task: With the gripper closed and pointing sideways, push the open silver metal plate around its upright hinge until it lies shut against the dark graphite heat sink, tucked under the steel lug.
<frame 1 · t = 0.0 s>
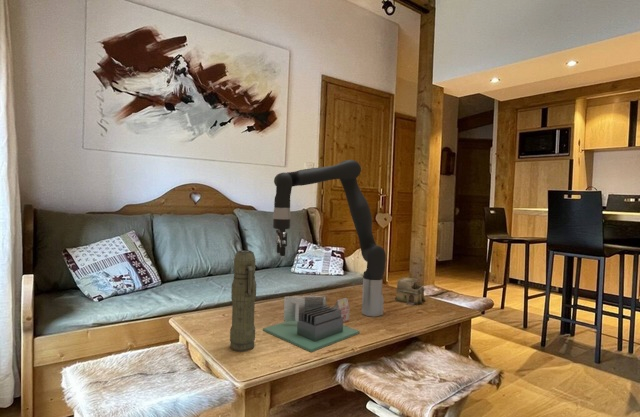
hand: (280, 254, 166), 29 cm above the table, tool pointing down, fingers open, 8 cm apart
graphics card: (304, 304, 193), on the table
miniature house: (409, 301, 204), on the table
thermos: (242, 347, 136), on the table
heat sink: (320, 335, 150), on the table
tea bag: (340, 321, 168), on the table
silver metal plate: (305, 308, 158), point 8 cm above the table, hinge at -35.0°
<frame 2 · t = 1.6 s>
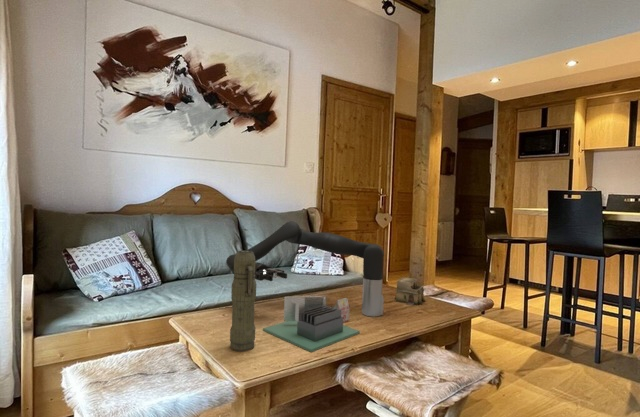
hand: (279, 277, 160), 20 cm above the table, tool horizontal, fingers open, 7 cm apart
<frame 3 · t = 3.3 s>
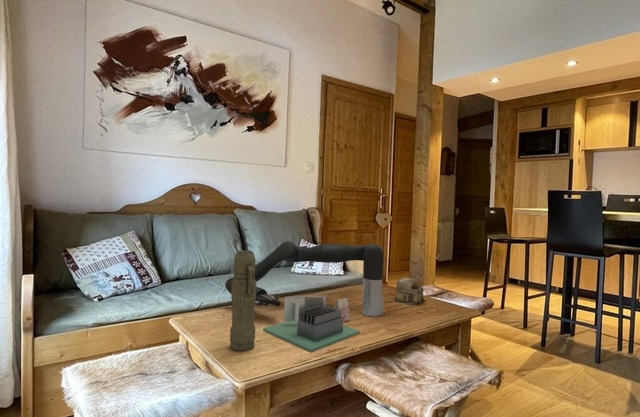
hand: (279, 304, 160), 9 cm above the table, tool horizontal, fingers closed
nothing on the table moved.
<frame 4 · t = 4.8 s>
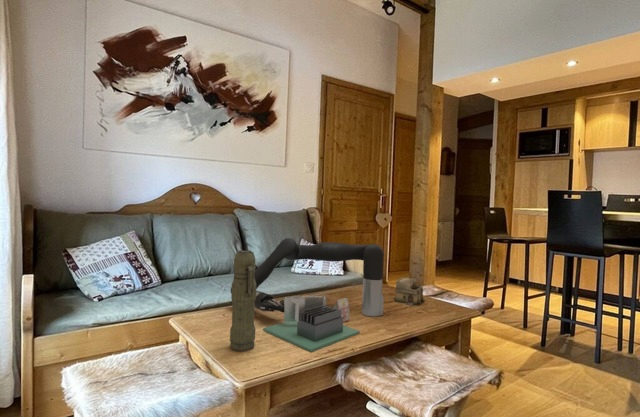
hand: (285, 310, 157), 7 cm above the table, tool horizontal, fingers closed
silver metal plate: (305, 308, 158), point 8 cm above the table, hinge at -33.0°, touching gripper
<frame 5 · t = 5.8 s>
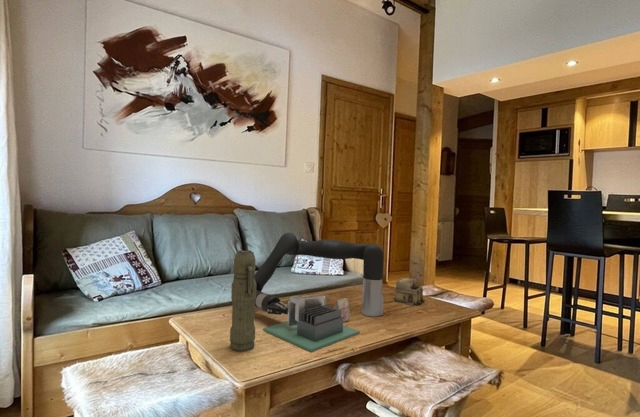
hand: (292, 313, 153), 7 cm above the table, tool horizontal, fingers closed
silver metal plate: (307, 310, 156), point 8 cm above the table, hinge at -14.1°, touching gripper
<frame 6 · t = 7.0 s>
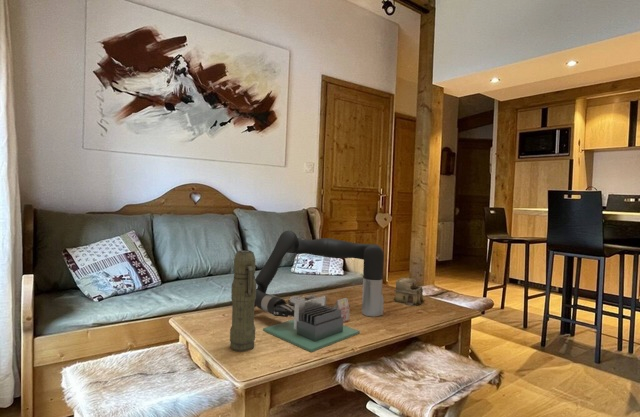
hand: (299, 315, 150), 7 cm above the table, tool horizontal, fingers closed
silver metal plate: (311, 311, 154), point 8 cm above the table, hinge at 2.1°, touching gripper, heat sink
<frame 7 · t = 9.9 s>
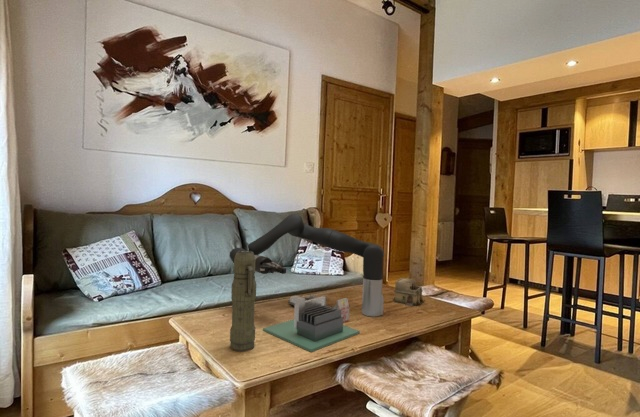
hand: (284, 271, 158), 23 cm above the table, tool horizontal, fingers closed
silver metal plate: (311, 311, 154), point 8 cm above the table, hinge at 2.1°, touching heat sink
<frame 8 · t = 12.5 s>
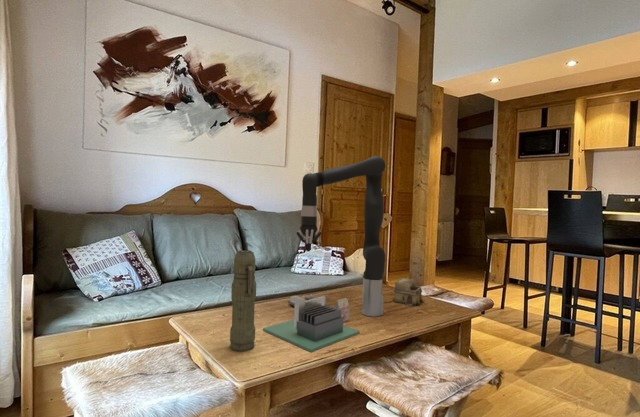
hand: (307, 251, 180), 29 cm above the table, tool pointing down, fingers closed
at the end: silver metal plate at +2° (first picture: -35°) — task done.
